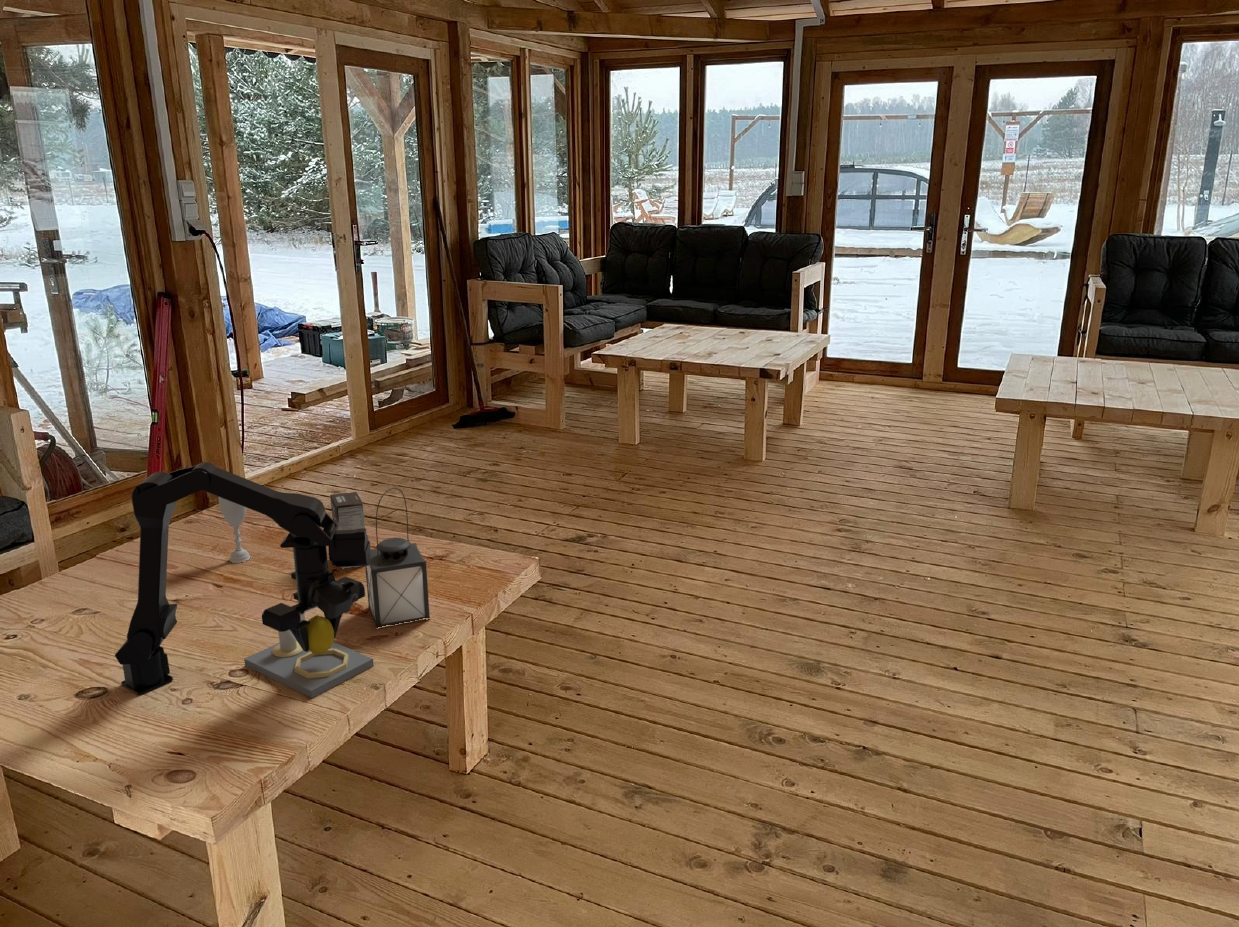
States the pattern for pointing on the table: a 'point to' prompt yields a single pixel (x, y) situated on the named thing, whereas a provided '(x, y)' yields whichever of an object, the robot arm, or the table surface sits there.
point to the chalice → (235, 527)
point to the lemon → (320, 634)
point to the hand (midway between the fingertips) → (319, 644)
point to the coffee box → (347, 512)
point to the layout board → (307, 665)
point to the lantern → (397, 581)
